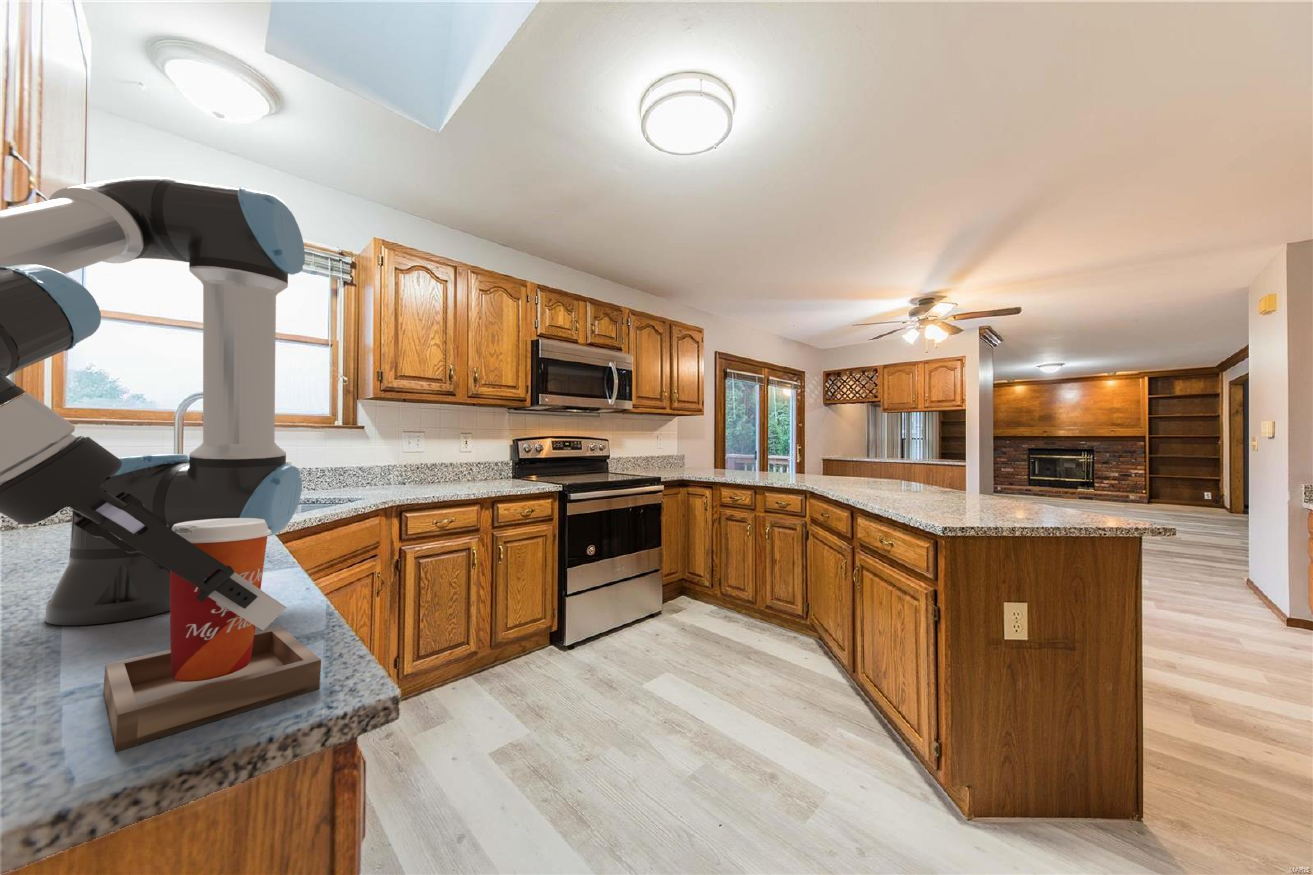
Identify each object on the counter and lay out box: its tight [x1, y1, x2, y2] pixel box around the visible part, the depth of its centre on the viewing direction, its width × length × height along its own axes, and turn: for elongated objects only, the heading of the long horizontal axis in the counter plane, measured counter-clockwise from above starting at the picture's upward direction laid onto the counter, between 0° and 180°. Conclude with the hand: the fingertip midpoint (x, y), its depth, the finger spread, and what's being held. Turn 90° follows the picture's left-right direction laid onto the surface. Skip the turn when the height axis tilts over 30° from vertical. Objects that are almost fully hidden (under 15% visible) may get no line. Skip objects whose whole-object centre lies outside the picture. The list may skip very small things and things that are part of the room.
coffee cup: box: [169, 518, 272, 682], centre depth 50 cm, size 8×8×15 cm
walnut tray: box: [102, 626, 322, 752], centre depth 50 cm, size 14×14×3 cm
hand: (257, 609), depth 53 cm, fingers closed on coffee cup, 8 cm apart
